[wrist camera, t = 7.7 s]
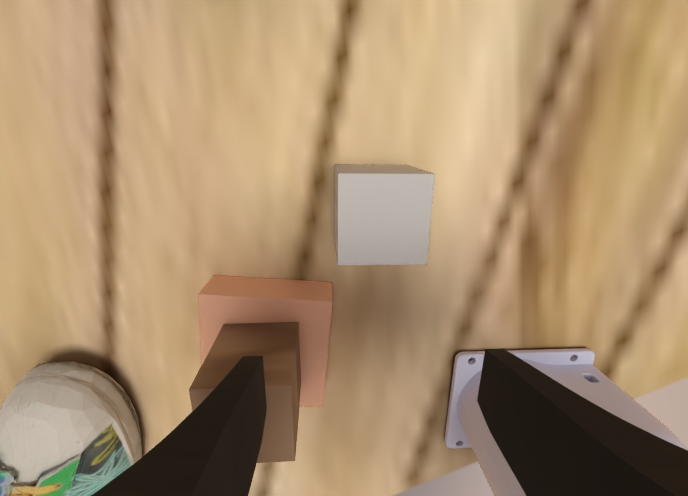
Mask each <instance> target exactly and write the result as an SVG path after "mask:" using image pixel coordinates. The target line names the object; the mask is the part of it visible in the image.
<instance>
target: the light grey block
mask: <svg viewBox="0 0 688 496" xmlns="http://www.w3.org/2000/svg"><path fill="white" fill-rule="evenodd" d="M434 179H435V174H434V173H431V172H427V171H424V170H421V169H418V168H415V167H412V166H409V165H344V164H335V188H334V236H335V245H336V254H337V263H338V266H340V265H427V256H428V245H429V234H430V223H431V212H432V201H433V190H434Z"/></svg>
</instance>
